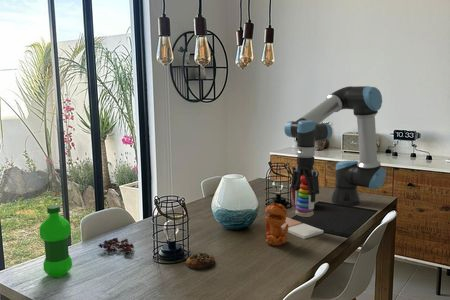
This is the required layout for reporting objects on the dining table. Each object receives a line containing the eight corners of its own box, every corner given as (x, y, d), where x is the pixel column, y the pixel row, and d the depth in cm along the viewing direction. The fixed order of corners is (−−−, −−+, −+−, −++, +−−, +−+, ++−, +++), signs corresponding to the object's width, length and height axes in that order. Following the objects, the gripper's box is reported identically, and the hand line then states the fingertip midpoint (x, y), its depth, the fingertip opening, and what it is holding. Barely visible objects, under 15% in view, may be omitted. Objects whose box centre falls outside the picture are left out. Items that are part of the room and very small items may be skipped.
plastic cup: (294, 201, 243) (295, 180, 241) (312, 204, 237) (313, 183, 235) (285, 206, 234) (285, 184, 232) (303, 209, 228) (304, 187, 226)
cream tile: (303, 225, 203) (303, 223, 203) (323, 233, 193) (323, 230, 193) (285, 231, 196) (285, 228, 196) (304, 238, 186) (304, 236, 186)
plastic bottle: (79, 269, 159) (74, 203, 155) (62, 282, 148) (57, 212, 144) (55, 266, 161) (50, 201, 157) (36, 279, 151) (30, 210, 147)
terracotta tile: (283, 218, 214) (283, 216, 214) (301, 224, 204) (301, 222, 204) (265, 223, 207) (265, 220, 207) (282, 230, 197) (282, 227, 197)
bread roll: (205, 272, 155) (204, 258, 155) (180, 270, 161) (179, 256, 160) (221, 262, 165) (219, 249, 164) (197, 260, 170) (195, 247, 170)
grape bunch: (93, 253, 170) (94, 242, 170) (107, 243, 184) (108, 232, 184) (129, 260, 169) (131, 248, 168) (141, 249, 183) (142, 238, 182)
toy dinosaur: (256, 243, 182) (257, 201, 179) (272, 236, 190) (272, 196, 187) (278, 250, 174) (279, 207, 172) (293, 242, 182) (294, 201, 179)
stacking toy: (308, 218, 188) (309, 176, 185) (292, 215, 192) (292, 173, 189) (316, 214, 194) (317, 173, 191) (300, 210, 199) (301, 170, 196)
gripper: (283, 153, 195) (282, 202, 199) (317, 160, 179) (315, 213, 182) (295, 152, 199) (294, 200, 203) (329, 158, 183) (327, 210, 187)
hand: (304, 206), depth 193 cm, fingers closed on stacking toy, 7 cm apart
